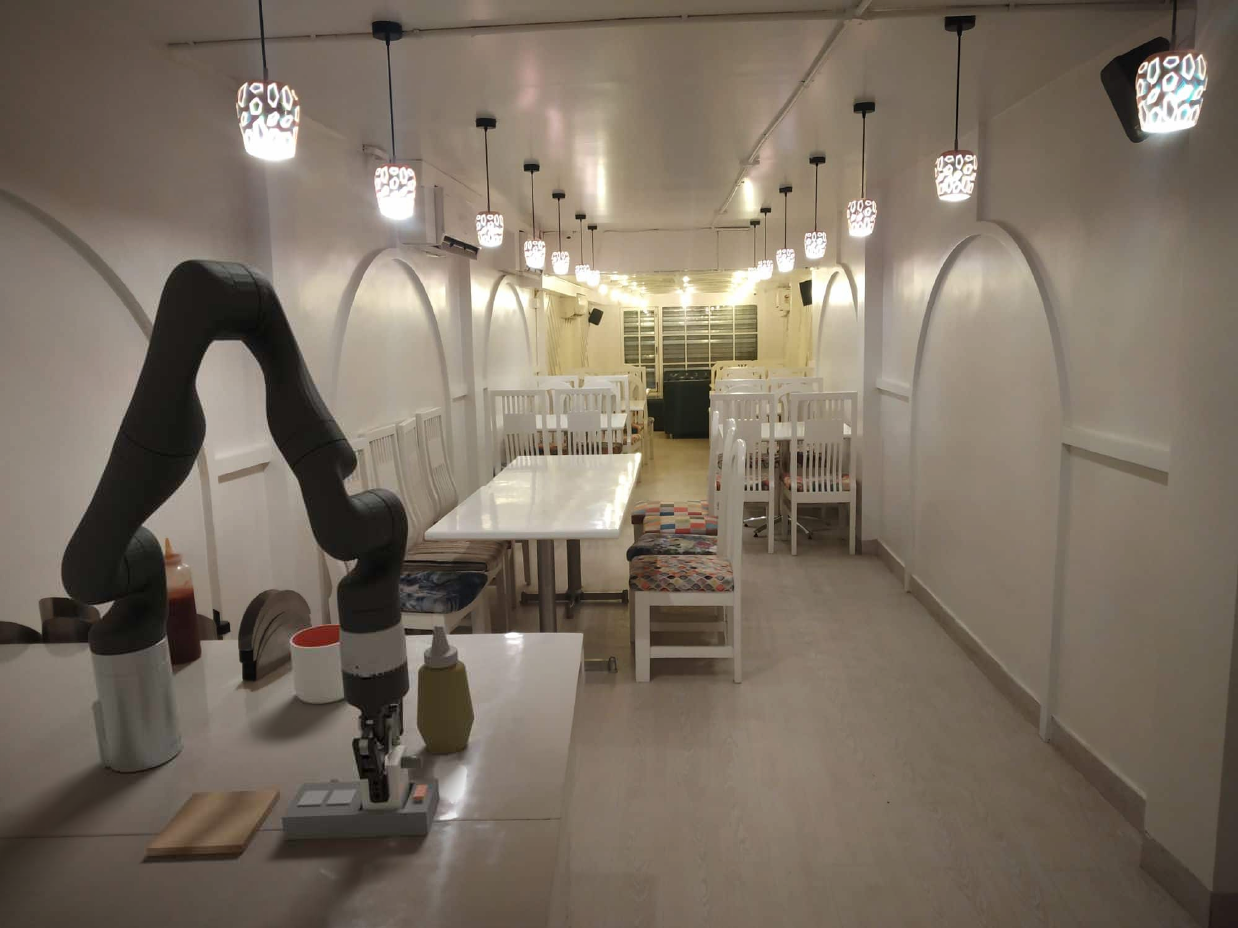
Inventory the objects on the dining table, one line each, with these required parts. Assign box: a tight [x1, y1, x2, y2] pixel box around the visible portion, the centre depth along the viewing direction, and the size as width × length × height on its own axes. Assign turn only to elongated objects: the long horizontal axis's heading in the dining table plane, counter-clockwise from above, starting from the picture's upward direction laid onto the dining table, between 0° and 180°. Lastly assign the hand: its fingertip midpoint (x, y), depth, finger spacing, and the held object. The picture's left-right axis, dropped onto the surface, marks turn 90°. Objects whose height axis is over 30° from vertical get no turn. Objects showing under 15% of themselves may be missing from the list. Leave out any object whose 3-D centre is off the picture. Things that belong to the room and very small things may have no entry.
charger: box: [359, 744, 424, 810], centre depth 100 cm, size 7×4×7 cm, turn 91°
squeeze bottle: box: [416, 624, 475, 755], centre depth 116 cm, size 8×8×18 cm
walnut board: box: [146, 789, 281, 857], centre depth 100 cm, size 11×11×1 cm
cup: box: [289, 623, 345, 705], centre depth 134 cm, size 10×10×10 cm
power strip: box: [281, 777, 440, 841], centre depth 102 cm, size 17×11×4 cm, turn 91°
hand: (385, 788), depth 100 cm, fingers closed on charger, 4 cm apart
